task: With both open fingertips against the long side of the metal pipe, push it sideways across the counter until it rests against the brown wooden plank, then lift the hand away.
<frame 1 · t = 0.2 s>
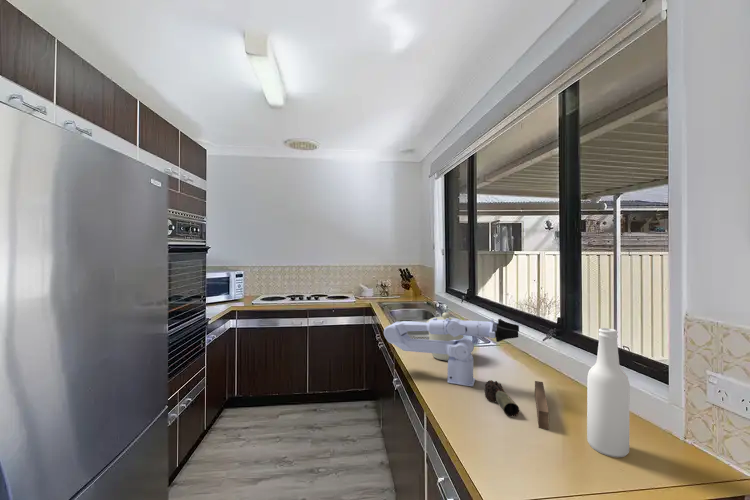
hand: (518, 331, 121), 21 cm above the countertop, tool horizontal, fingers open, 7 cm apart
alcohol: (607, 448, 86), on the countertop
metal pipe: (498, 404, 111), on the countertop
brown wooden plank: (540, 410, 106), on the countertop
canister: (445, 357, 158), on the countertop
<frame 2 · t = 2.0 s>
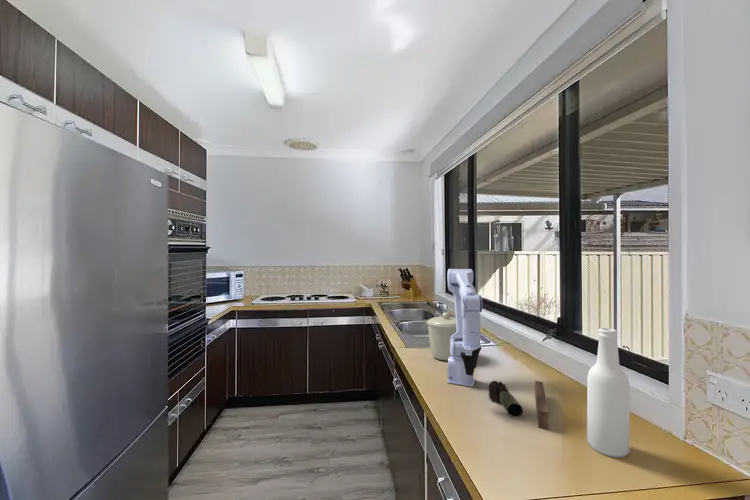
hand: (471, 371, 114), 9 cm above the countertop, tool pointing down, fingers open, 7 cm apart
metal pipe: (502, 404, 110), on the countertop
everything else where it was.
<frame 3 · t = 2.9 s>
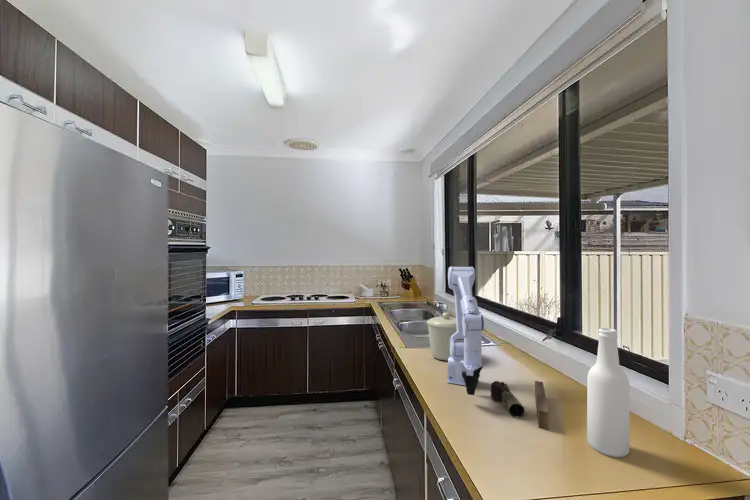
hand: (472, 390, 114), 3 cm above the countertop, tool pointing down, fingers open, 7 cm apart
nothing on the countertop moved.
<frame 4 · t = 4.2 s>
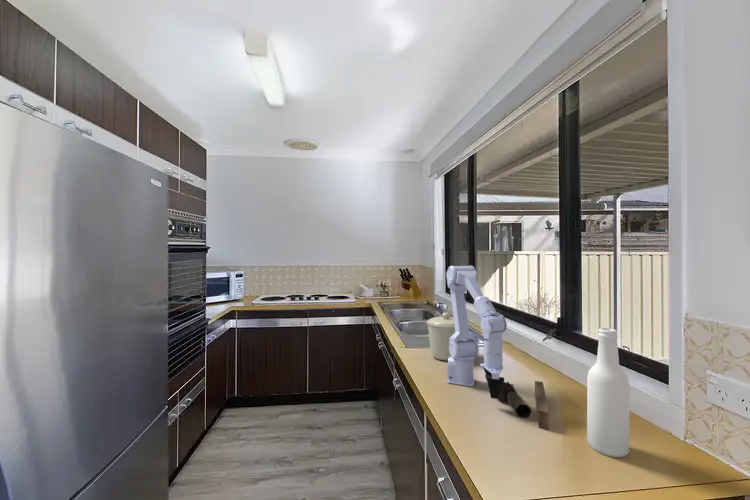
hand: (493, 393, 111), 3 cm above the countertop, tool pointing down, fingers open, 7 cm apart
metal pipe: (510, 405, 110), on the countertop, touching gripper
everything else where it was.
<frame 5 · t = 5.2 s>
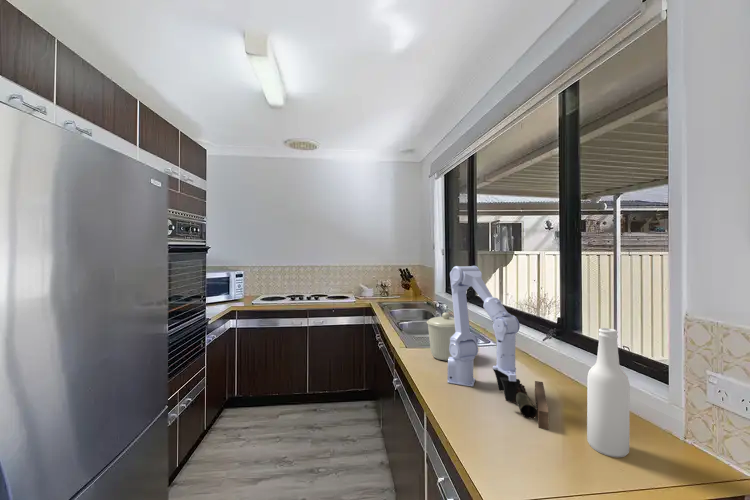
hand: (505, 395, 110), 3 cm above the countertop, tool pointing down, fingers open, 7 cm apart
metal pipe: (519, 406, 110), on the countertop
everything else where it was.
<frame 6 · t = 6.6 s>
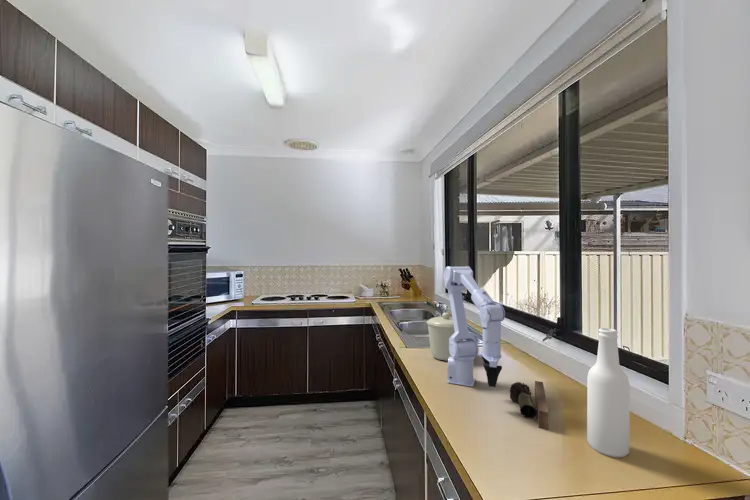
hand: (491, 381, 112), 7 cm above the countertop, tool pointing down, fingers open, 7 cm apart
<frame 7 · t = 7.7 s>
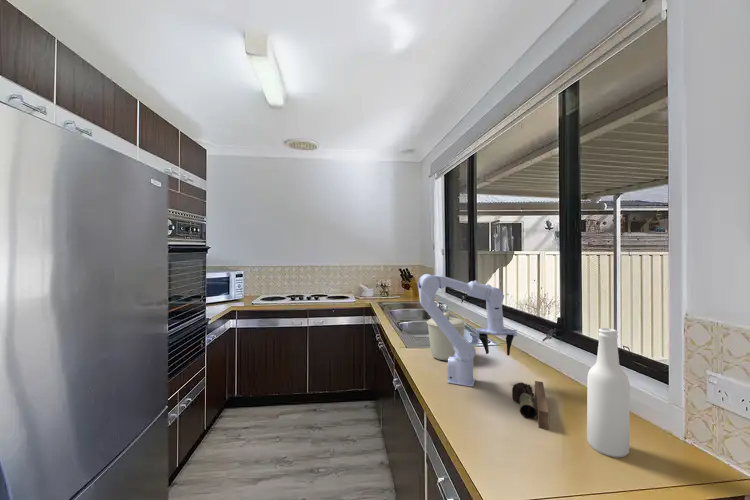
hand: (497, 353, 129), 11 cm above the countertop, tool pointing down, fingers open, 7 cm apart
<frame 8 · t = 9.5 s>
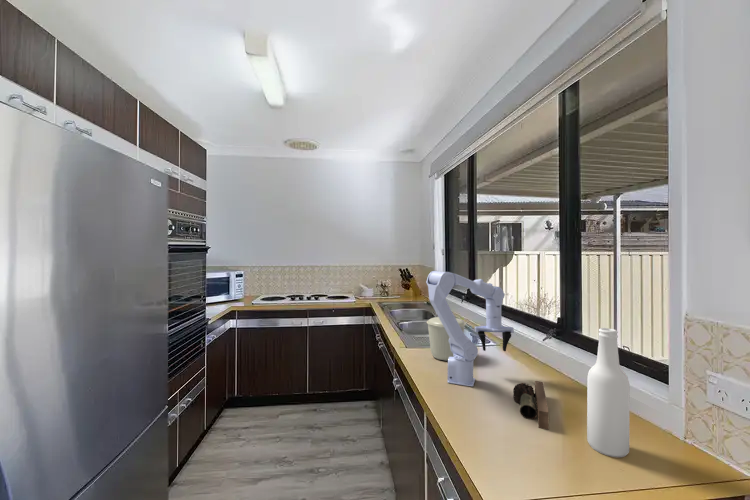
hand: (494, 350, 134), 10 cm above the countertop, tool pointing down, fingers open, 7 cm apart
at the end: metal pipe inside the target area (1.5 cm from its centre), on the countertop; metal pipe moved 8.3 cm from its start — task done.
